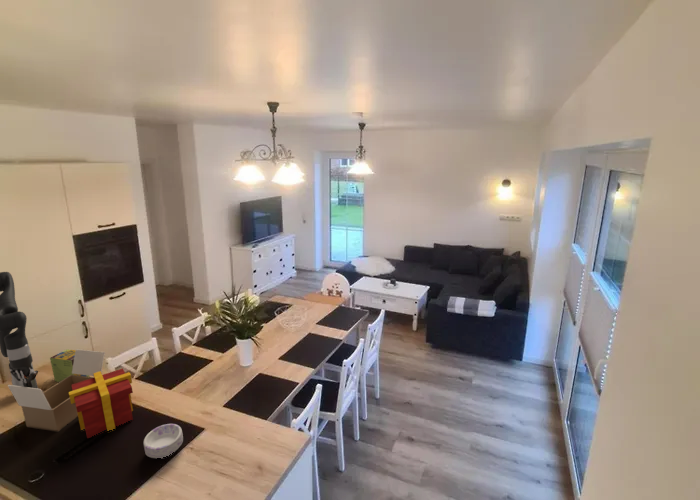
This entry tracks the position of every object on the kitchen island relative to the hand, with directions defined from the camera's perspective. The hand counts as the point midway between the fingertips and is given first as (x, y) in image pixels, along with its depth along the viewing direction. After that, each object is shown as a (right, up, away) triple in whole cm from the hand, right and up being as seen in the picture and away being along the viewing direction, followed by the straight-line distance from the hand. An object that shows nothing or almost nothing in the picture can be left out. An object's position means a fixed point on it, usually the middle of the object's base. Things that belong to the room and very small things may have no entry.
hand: (28, 388), depth 167 cm
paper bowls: (+66, -25, -6) cm, 71 cm away
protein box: (-16, -12, +49) cm, 53 cm away
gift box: (+27, -21, +14) cm, 37 cm away
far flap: (+5, +2, +30) cm, 31 cm away
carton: (+3, -19, +20) cm, 28 cm away
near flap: (0, -4, +1) cm, 5 cm away
